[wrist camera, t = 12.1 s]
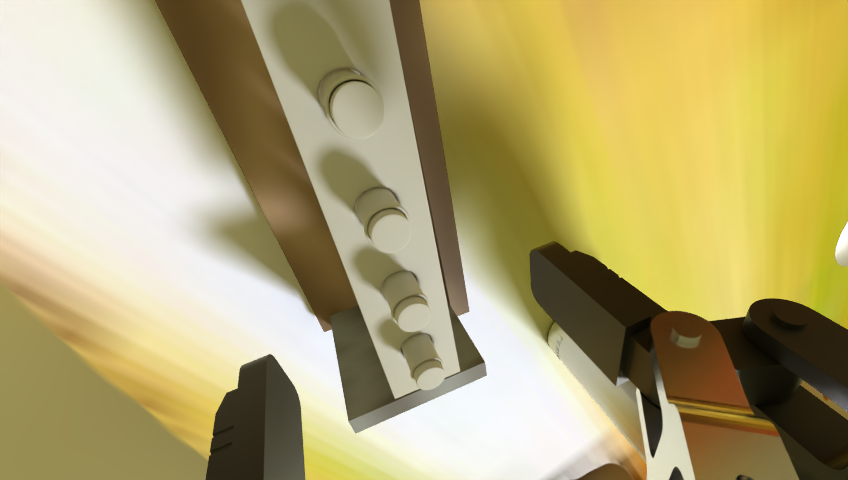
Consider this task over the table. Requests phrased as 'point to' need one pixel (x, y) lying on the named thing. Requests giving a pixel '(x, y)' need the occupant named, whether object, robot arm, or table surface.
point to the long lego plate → (364, 171)
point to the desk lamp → (842, 248)
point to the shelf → (296, 199)
